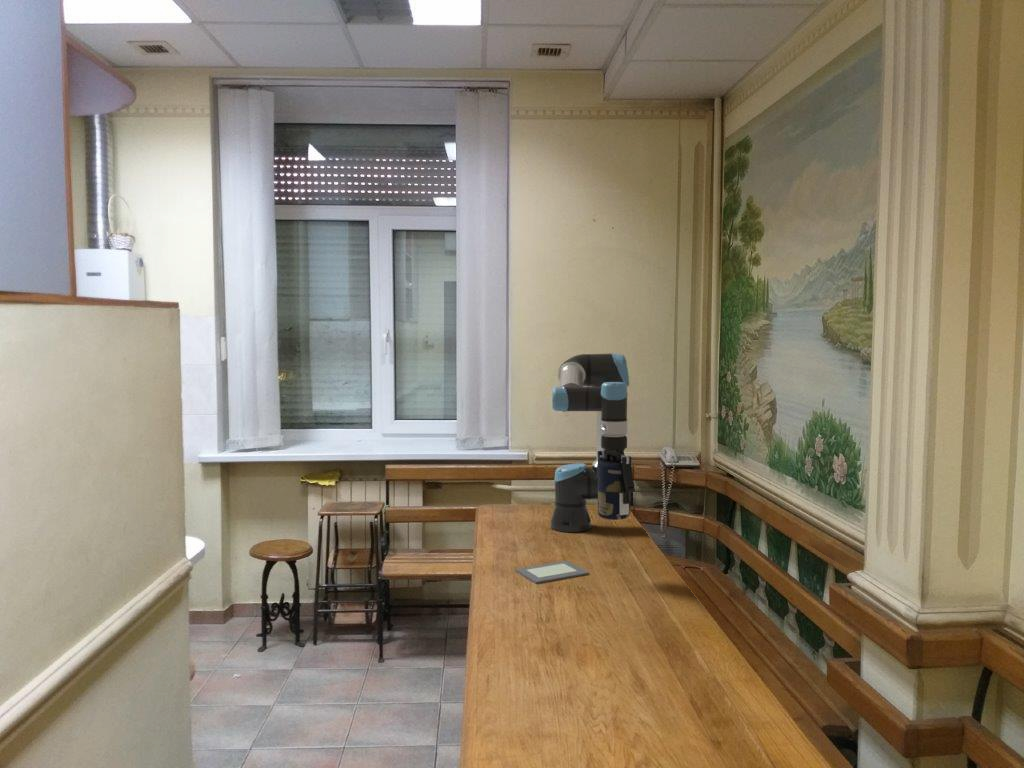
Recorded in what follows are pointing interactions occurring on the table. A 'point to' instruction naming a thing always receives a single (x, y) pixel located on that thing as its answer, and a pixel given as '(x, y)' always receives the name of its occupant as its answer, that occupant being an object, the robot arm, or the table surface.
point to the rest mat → (551, 571)
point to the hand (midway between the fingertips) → (614, 510)
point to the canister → (610, 490)
